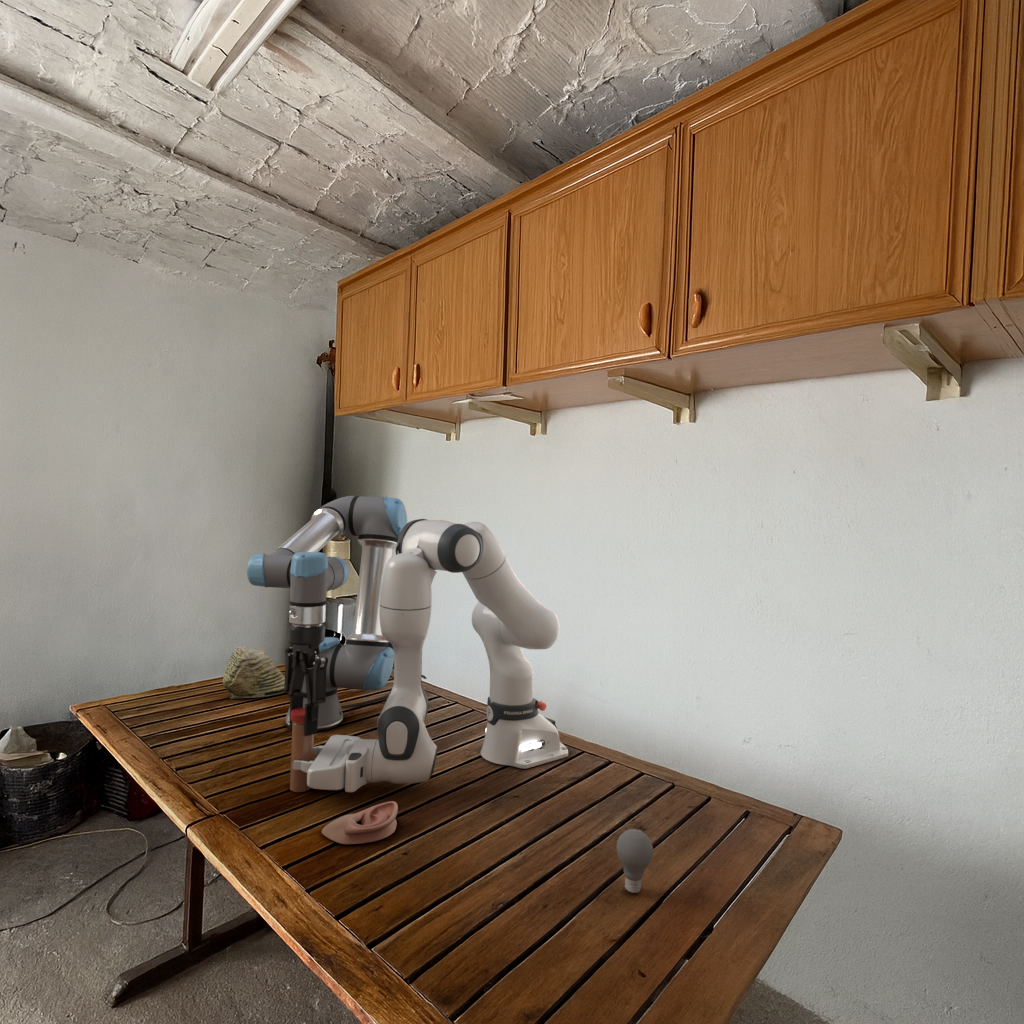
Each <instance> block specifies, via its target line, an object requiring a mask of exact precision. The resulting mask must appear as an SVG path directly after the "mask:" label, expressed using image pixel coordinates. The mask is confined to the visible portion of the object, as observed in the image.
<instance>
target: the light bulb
mask: <svg viewBox="0 0 1024 1024" xmlns="http://www.w3.org/2000/svg"><path fill="white" fill-rule="evenodd" d="M615 849H616V854H617V857H618V859H619V861H620V863H621V865H622V867H623V873H624V874H623V875H624V876H625V878H624V888H625V890H627V891H628V892H630V893H634V894H635V893H639V892H640V891H641V889H642V887H641V886H642V879H643V877H644V875H645V871H646V868H647V867H648V866H649V864H650V863H651V861H652V859H653V855H654V847H653V843H652V841H651V838H649V836H648V835H647V834H646V833H645V832H643V831H642V830H641V829H636V828H629V829H627V830H625V831H623V832H622V833H621V834H620V835H619V837H618V839H617V841H616V847H615Z"/></svg>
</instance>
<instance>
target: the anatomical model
mask: <svg viewBox="0 0 1024 1024" xmlns="http://www.w3.org/2000/svg"><path fill="white" fill-rule="evenodd" d="M398 809H399V806H398V803H397V802H396V801H393V800H392V801H391V800H390V801H385V802H381V803H378V804H376V805H372V806H370V807H368V808H365V809H363V810H360V811H358V812H355V813H350V814H344V815H342V816H340V817H338V818H336V819H334V820H332V821H331V822H329V823H327V824H326V825H325V826H323V828H322V829H321V834H322V835H323V836H324V837H325V838H327V839H328V840H331V841H333V842H335V843H337V844H341V845H357V844H358V845H359V844H367V843H372V842H377V841H380V840H384V839H385V838H388V837H389V836H391V835H392V834H393V833H395V831H396V829H397V826H398V823H397V820H396V819H397V815H398V812H399V811H398Z"/></svg>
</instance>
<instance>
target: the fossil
mask: <svg viewBox="0 0 1024 1024" xmlns="http://www.w3.org/2000/svg"><path fill="white" fill-rule="evenodd" d="M222 676H223V677H222V685H223V687H224V688H225V690H226V691H228V693H229V698H230V699H250V698H264V697H271V696H275V695H281V694H284V693H285V691H284V683H285V675H284V674H283V673H282V672H281V669H279V668H278V667H277V665H276V663H275V662H274V660H273V659H272V658H271V657H270V656H269V655H268V654H267V653H266V652H265V650H264V649H263V648H260V647H258V648H251V647H247V646H246V647H245V646H238V647H237V648H236V649H235V650H233V651H232V653H231V656H230V657H229V659H228V660H227V663H226V666H225V668H224V671H223V675H222Z"/></svg>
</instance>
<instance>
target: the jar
mask: <svg viewBox="0 0 1024 1024" xmlns="http://www.w3.org/2000/svg"><path fill="white" fill-rule="evenodd" d="M304 723H305V722H303V723H299V722H292V729H291V745H290V769H289V770H290V771H289V772H290V773H289V774H290V775H289V790H290V791H291V792H293V793H304V792H308V791H310V790H312V788H311V787H309V786H307V773H306V772H304V771H301V770H294V769H293V762H294V761H295V759H303V761H307V762H309V761H314V757H313V749H314V747H315V745H314V743H315V734H313V735H309V736H304Z"/></svg>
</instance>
